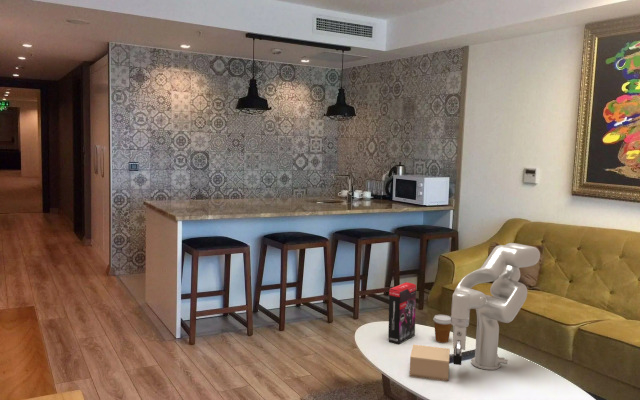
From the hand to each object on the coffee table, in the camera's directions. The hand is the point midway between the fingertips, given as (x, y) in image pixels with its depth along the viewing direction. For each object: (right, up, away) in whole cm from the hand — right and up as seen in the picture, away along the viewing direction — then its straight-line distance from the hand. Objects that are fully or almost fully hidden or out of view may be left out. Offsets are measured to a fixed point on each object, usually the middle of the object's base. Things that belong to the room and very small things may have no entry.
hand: (457, 359), depth 234 cm
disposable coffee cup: (+3, -2, +41) cm, 42 cm away
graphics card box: (-18, -2, +42) cm, 46 cm away
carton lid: (-8, 0, +2) cm, 9 cm away
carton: (-11, -6, +4) cm, 13 cm away
